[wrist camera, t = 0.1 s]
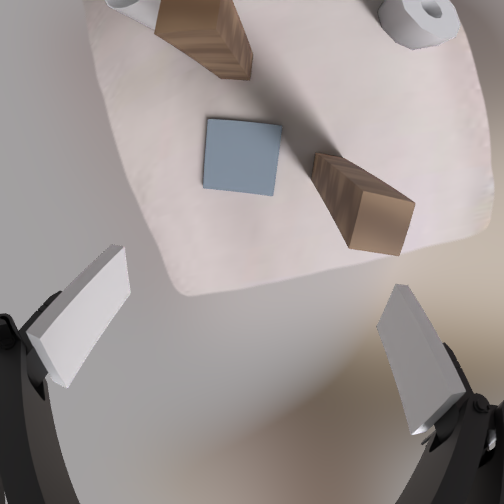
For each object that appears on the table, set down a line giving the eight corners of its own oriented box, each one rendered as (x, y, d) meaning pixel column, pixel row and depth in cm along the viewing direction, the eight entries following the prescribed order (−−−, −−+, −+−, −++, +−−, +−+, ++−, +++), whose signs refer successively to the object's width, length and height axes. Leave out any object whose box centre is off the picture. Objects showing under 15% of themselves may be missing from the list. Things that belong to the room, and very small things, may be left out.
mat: (209, 118, 34) (208, 119, 34) (282, 125, 34) (282, 125, 33) (204, 186, 39) (203, 188, 38) (273, 194, 39) (273, 196, 38)
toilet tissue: (454, 43, 23) (485, 35, 15) (396, 53, 27) (423, 41, 19) (429, -3, 20) (454, -18, 12) (366, 3, 23) (385, -19, 16)
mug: (139, 31, 28) (96, 10, 17) (155, -3, 25) (118, -32, 14) (199, 37, 29) (168, 9, 18) (215, 1, 26) (192, -36, 15)
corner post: (224, 53, 30) (164, -14, 10) (253, 54, 30) (224, -19, 10) (220, 78, 31) (154, 34, 12) (250, 80, 31) (215, 29, 12)
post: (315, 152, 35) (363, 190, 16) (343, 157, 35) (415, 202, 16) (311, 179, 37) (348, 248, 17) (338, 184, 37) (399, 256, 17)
